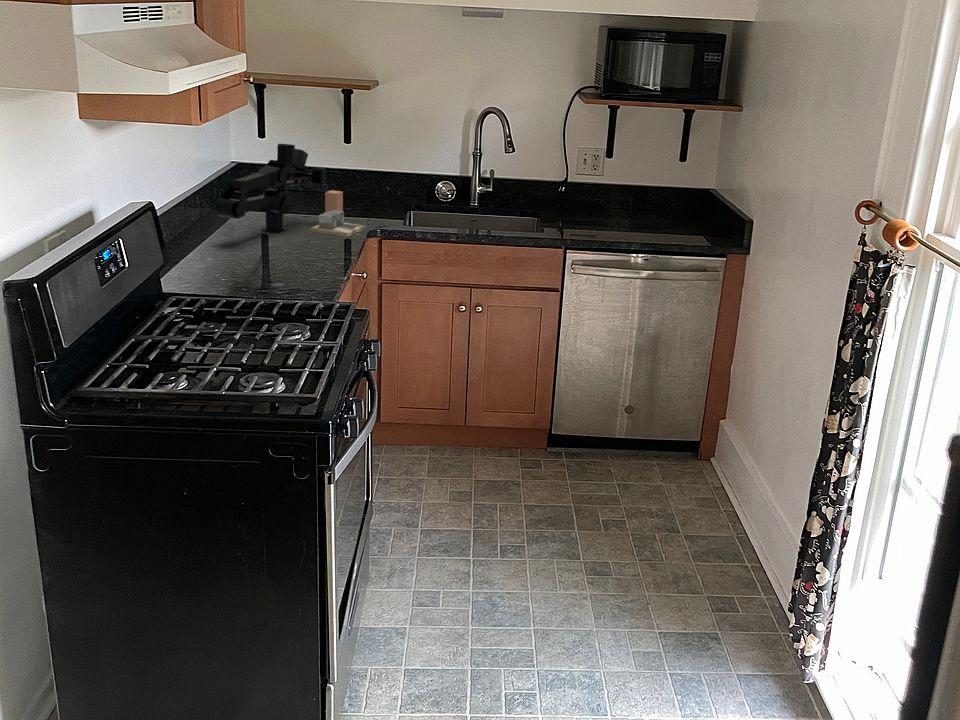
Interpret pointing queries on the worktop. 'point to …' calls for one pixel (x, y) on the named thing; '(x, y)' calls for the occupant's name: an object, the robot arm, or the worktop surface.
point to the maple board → (339, 230)
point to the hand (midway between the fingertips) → (314, 173)
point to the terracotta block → (333, 201)
